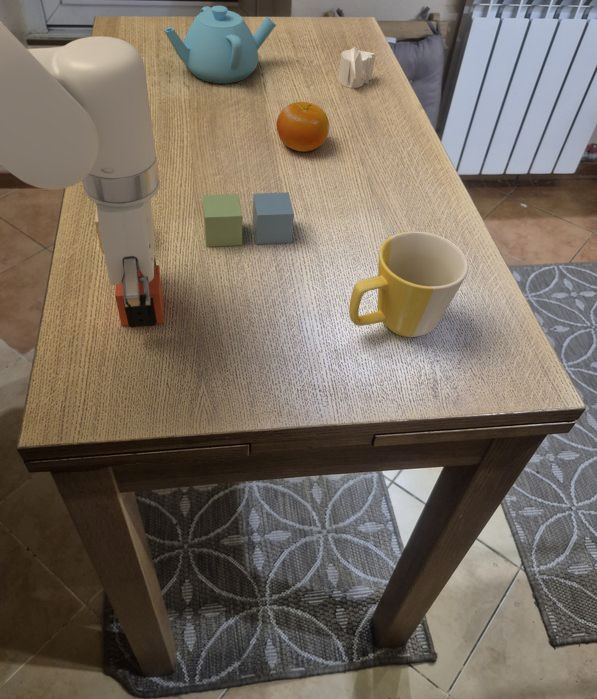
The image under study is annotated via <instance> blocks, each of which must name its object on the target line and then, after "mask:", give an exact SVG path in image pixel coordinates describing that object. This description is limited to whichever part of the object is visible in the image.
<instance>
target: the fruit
mask: <svg viewBox="0 0 597 699" xmlns="http://www.w3.org/2000/svg"><path fill="white" fill-rule="evenodd" d="M275 124H276V131H277V135H278V137H279V139H280V141H281V142H282V143H283V144H284V145H285V146H286V147H288V148H289V149H291V150H293V151H297V152H310V151H314V150H316V149H318V148H319V147H320V146H322V145H323V144H324V143H325V141H326V140H327V139H328V136H329V132H330V122H329V118H328V116H327V113H326V112H325V110H323V108H321V107H320V106H318V105H317V104H314V103H311V102H308V101H307V102H306V101H296V102H292V103H290V104H287V105H286V106H285V107H283V108H282V110H281V111H280V113H279V114H278V116H277V119H276V123H275Z"/></svg>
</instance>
